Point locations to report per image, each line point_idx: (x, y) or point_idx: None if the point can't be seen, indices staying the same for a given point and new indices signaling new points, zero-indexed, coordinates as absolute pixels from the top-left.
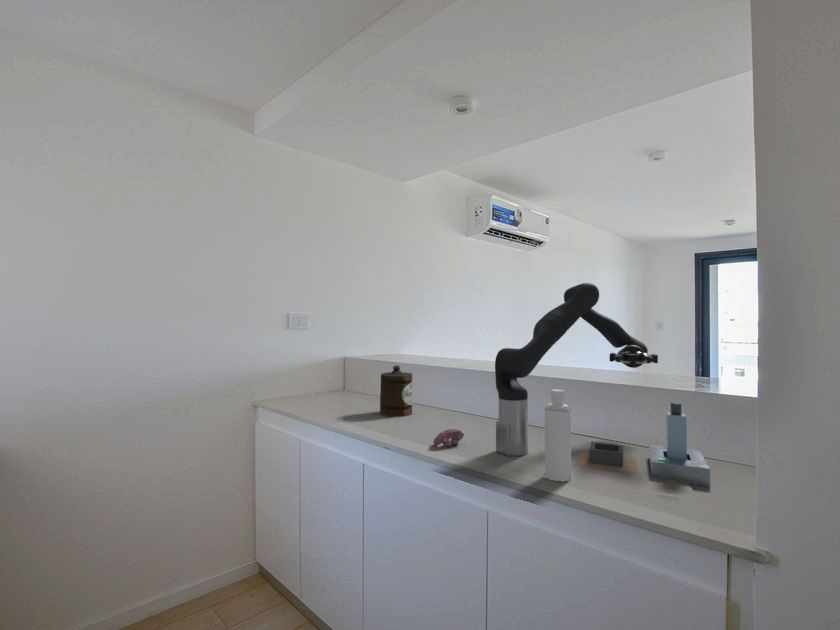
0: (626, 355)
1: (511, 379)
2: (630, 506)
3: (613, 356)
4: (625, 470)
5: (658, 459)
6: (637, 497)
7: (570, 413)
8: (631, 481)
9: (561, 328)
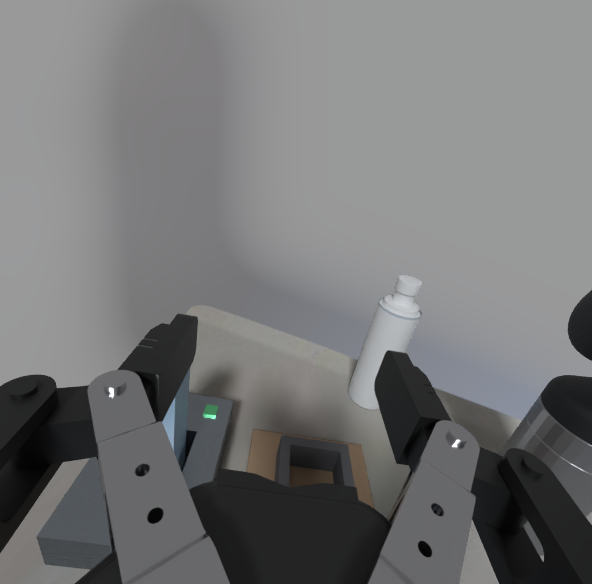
0: (374, 509)
1: None
2: (276, 342)
3: (479, 453)
4: (272, 437)
5: (216, 414)
6: (266, 360)
7: (377, 308)
8: (266, 404)
9: None
